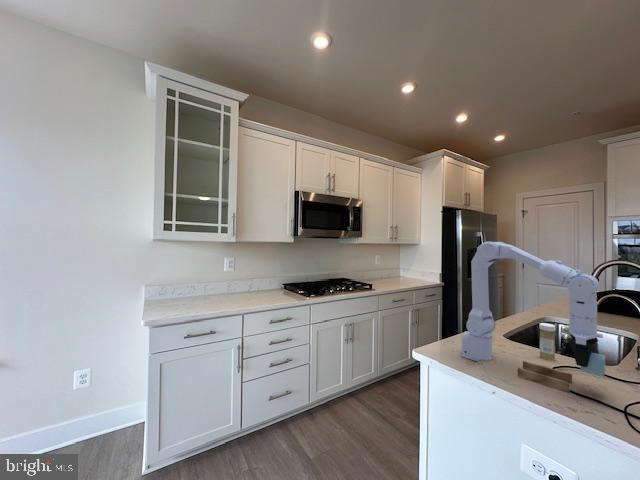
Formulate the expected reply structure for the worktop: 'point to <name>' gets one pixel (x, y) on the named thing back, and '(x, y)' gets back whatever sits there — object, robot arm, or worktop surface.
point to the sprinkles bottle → (547, 341)
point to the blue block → (595, 365)
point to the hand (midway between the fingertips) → (582, 363)
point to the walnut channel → (546, 376)
